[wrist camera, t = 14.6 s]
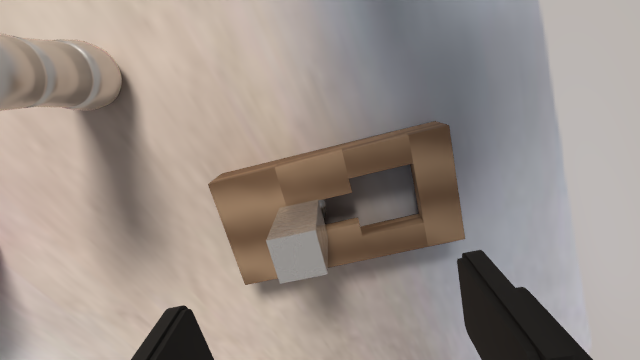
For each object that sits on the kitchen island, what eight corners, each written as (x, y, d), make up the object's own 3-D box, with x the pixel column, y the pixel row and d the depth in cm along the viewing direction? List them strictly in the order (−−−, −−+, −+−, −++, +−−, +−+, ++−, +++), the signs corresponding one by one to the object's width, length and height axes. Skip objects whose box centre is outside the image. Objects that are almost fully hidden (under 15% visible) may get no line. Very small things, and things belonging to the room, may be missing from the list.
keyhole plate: (221, 173, 35) (208, 184, 31) (434, 121, 33) (448, 125, 29) (253, 265, 38) (245, 285, 34) (450, 223, 36) (465, 238, 32)
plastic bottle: (141, 99, 33) (-123, 112, 14) (84, 116, 33) (-244, 151, 14) (115, 35, 31) (-230, -53, 12) (55, 54, 32) (-360, 0, 13)
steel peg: (283, 191, 35) (262, 239, 24) (321, 183, 35) (317, 227, 24) (293, 226, 36) (278, 286, 25) (329, 218, 36) (330, 276, 25)
